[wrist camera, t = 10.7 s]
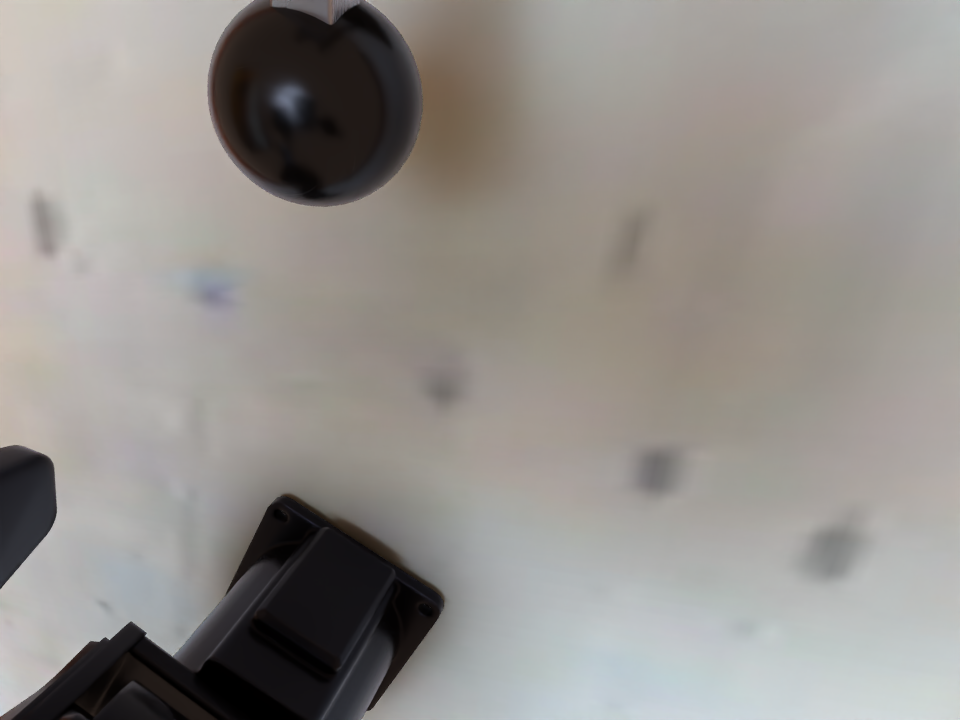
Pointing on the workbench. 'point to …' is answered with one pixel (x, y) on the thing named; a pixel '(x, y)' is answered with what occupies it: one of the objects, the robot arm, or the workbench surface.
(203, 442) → the workbench surface
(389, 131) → the lever
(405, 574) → the robot arm
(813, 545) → the workbench surface
